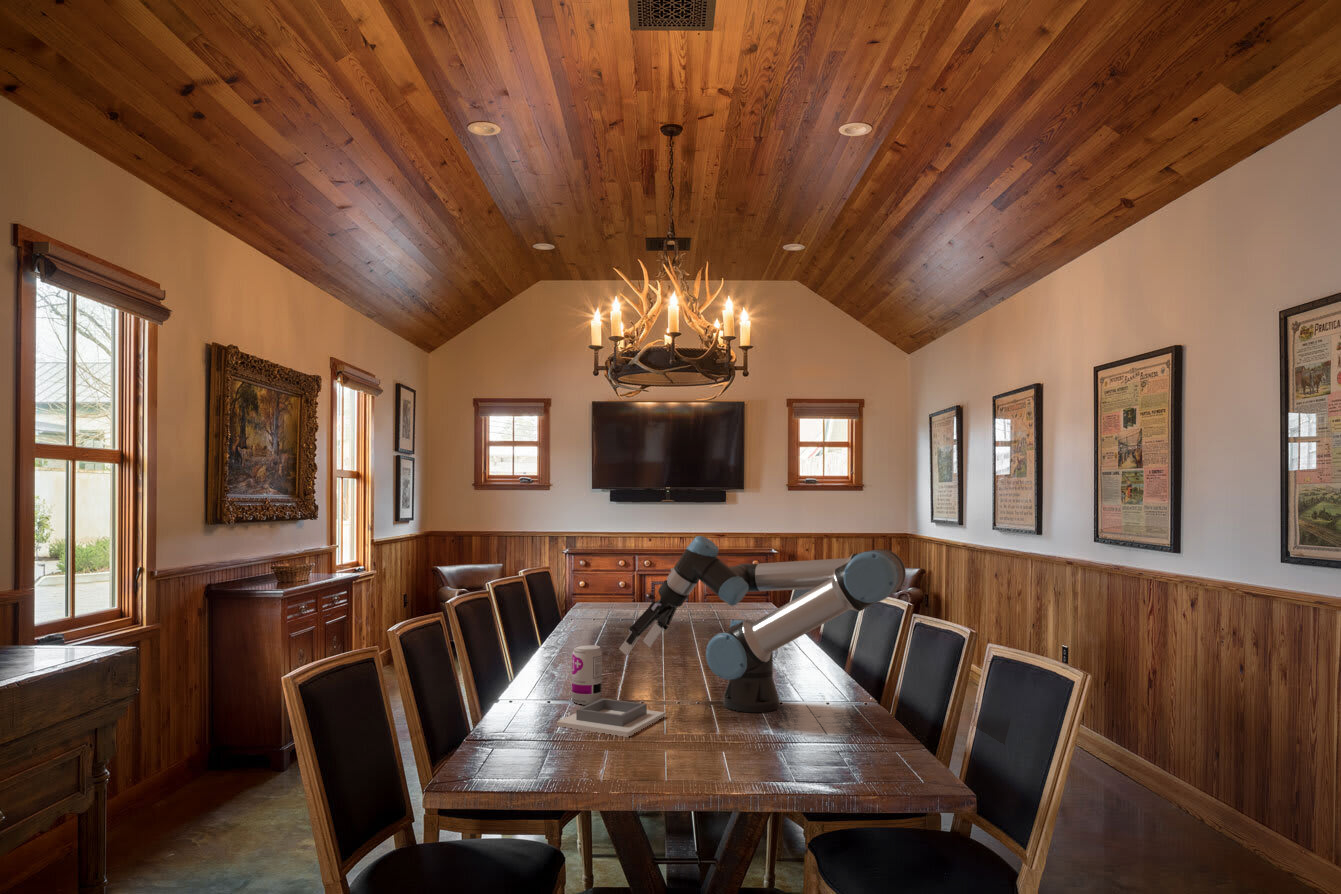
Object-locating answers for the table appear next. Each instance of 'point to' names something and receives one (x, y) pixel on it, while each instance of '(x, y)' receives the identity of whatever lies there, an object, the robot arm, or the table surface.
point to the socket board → (612, 717)
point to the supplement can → (586, 674)
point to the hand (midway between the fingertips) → (635, 647)
